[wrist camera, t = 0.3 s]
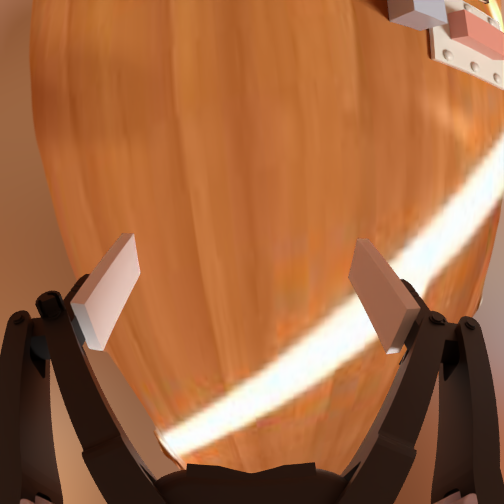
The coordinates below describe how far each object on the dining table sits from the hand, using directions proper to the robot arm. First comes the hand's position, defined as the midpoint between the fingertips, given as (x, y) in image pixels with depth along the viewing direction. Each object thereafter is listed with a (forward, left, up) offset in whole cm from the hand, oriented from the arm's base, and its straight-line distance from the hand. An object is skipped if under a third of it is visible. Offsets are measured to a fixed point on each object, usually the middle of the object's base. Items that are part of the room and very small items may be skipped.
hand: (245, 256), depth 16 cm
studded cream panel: (-28, +41, -28) cm, 57 cm away
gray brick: (-28, +26, -28) cm, 47 cm away
